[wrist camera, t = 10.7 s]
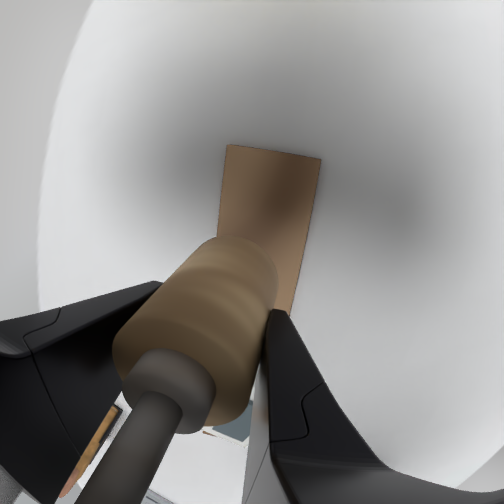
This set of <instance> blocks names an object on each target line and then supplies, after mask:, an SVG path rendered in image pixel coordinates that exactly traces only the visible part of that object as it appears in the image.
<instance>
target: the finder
mask: <svg viewBox="0 0 504 504" xmlns="http://www.w3.org/2000/svg"><path fill="white" fill-rule="evenodd" d="M258 367H259V366H258ZM257 371H258V370H257ZM256 376H257V374H256ZM255 381H256V378H255ZM255 381H254V385H253V389H252V392H251V396H250V400H249V403H248V406H247V408H246V409H245V411H244V412H243V413H242V414H241V416H239V417H238V418H237V419H235V420H233V421H231V422H229V423H226V424H223V425H219V426H210V427H206V426H203V428H202V429H201V430H203V431H205V432H208V433H210V434H212V435H214V436H217V437H219V438H221V439H224V440H226V441H229V442H231V443H234V444H236V445H239V446H241V447H244V448H245V447H247V446H248V445H249V436H250V427H251V417H252V408H253V399H254V389H255Z"/></svg>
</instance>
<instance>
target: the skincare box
mask: <svg viewBox="0 0 504 504" xmlns="http://www.w3.org/2000/svg"><path fill="white" fill-rule="evenodd" d="M141 504H173V503H172V502H170V501H168V500H166V499H164V498H163V497H161V496H159V495H158V494H156V493H154V492H153V491H151V490H149V489H148V490H147V492H146V494H145V496H144V498H143V500H142V502H141Z"/></svg>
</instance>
